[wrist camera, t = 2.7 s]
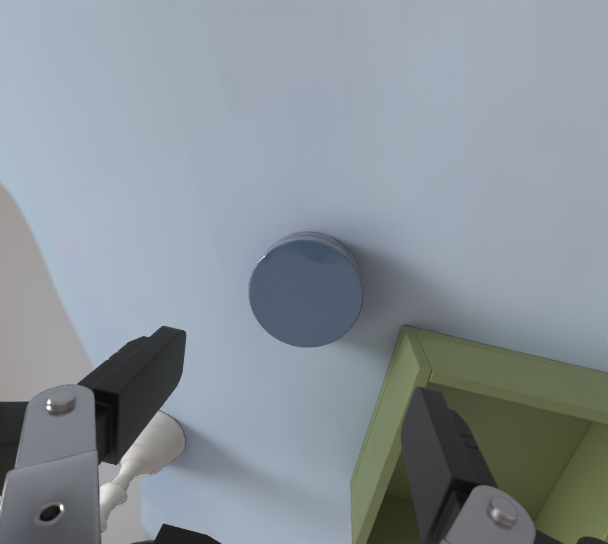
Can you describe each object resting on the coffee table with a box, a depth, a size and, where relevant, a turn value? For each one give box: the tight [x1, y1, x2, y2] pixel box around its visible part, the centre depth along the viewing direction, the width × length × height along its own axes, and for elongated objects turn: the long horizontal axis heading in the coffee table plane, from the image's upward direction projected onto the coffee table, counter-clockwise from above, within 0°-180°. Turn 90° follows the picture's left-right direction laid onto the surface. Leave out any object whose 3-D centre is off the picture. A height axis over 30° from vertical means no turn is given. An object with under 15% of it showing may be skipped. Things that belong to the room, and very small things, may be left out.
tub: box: [350, 325, 608, 544], centre depth 21 cm, size 13×13×5 cm
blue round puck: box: [249, 232, 363, 347], centre depth 20 cm, size 6×6×2 cm
